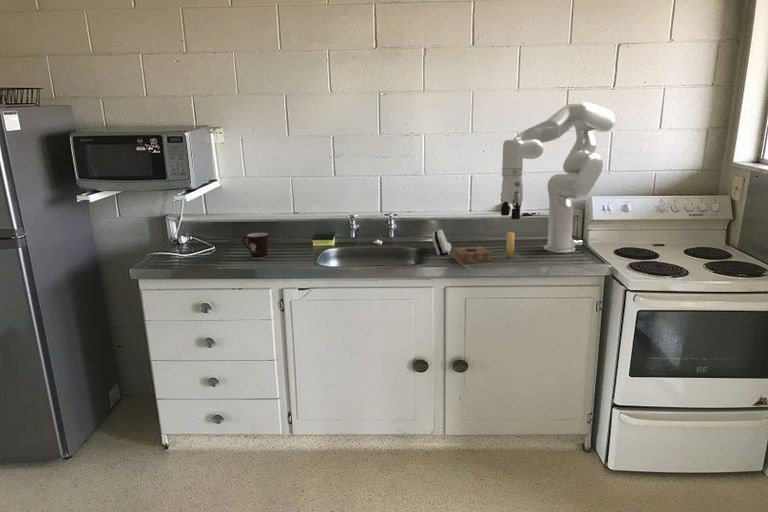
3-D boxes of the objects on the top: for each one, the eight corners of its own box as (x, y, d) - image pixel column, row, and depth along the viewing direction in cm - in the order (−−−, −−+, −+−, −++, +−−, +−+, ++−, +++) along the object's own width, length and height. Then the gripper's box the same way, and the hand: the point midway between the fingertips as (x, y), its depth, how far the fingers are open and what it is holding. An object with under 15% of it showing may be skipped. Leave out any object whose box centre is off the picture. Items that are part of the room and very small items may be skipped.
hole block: (480, 255, 231) (480, 246, 230) (491, 262, 219) (491, 252, 218) (452, 257, 228) (452, 248, 227) (461, 264, 217) (461, 254, 216)
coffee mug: (273, 258, 236) (271, 234, 234) (254, 261, 231) (252, 237, 228) (260, 253, 245) (259, 231, 242) (242, 256, 239) (240, 233, 237)
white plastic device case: (449, 255, 233) (441, 232, 232) (438, 258, 234) (430, 236, 233) (451, 246, 249) (443, 225, 248) (441, 250, 250) (433, 229, 249)
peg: (512, 256, 225) (512, 232, 223) (515, 258, 223) (516, 233, 220) (504, 257, 225) (505, 232, 223) (508, 258, 222) (508, 233, 220)
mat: (517, 255, 230) (517, 253, 230) (529, 261, 220) (529, 259, 219) (491, 257, 228) (491, 255, 228) (502, 263, 218) (502, 262, 217)
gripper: (531, 174, 208) (529, 220, 212) (511, 171, 225) (510, 213, 229) (512, 174, 207) (510, 221, 211) (494, 171, 224) (492, 214, 227)
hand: (510, 217), depth 220 cm, fingers open, 9 cm apart
